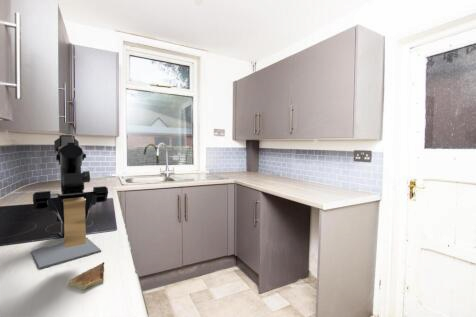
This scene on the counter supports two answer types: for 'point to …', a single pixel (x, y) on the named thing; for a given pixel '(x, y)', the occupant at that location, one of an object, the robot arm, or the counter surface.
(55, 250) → the slate mat
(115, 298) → the counter surface
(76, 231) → the wood block
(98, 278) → the shard
